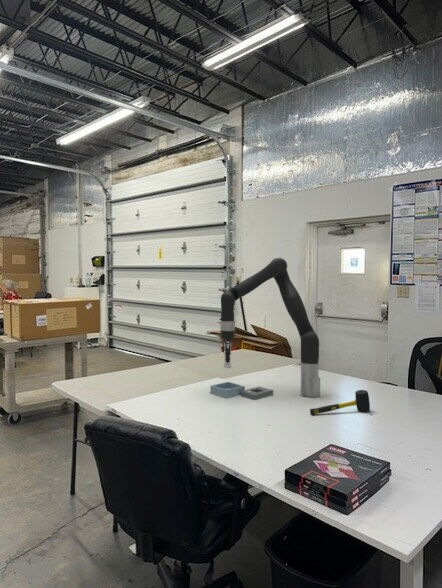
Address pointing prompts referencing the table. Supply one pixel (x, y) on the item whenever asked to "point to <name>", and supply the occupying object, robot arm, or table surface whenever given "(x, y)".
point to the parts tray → (227, 389)
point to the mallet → (348, 404)
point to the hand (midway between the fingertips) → (227, 361)
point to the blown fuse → (226, 365)
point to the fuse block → (256, 393)
